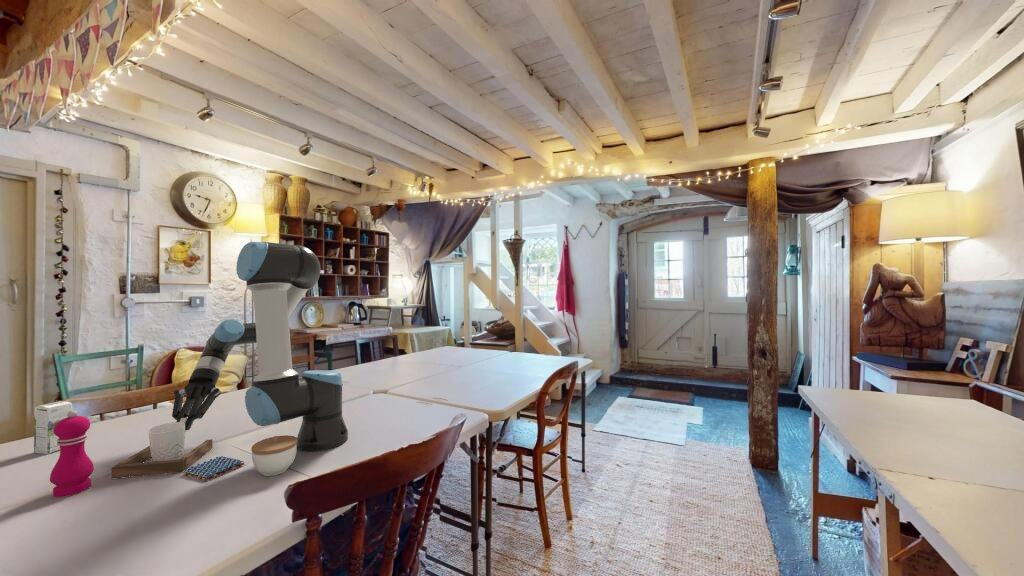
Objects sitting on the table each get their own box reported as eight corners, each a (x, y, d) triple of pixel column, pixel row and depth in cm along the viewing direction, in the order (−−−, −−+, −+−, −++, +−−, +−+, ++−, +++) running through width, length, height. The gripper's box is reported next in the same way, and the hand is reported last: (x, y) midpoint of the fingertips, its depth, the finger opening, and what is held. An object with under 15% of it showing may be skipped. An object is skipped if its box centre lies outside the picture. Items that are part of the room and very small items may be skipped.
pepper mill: (53, 501, 90) (52, 417, 90) (46, 493, 94) (46, 412, 94) (97, 488, 96) (97, 408, 96) (90, 480, 100) (89, 404, 100)
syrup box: (58, 445, 122) (58, 400, 122) (72, 447, 121) (72, 401, 121) (33, 453, 117) (33, 406, 117) (47, 454, 116) (47, 407, 116)
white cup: (161, 470, 106) (160, 434, 105) (142, 465, 108) (141, 430, 108) (192, 457, 113) (191, 424, 113) (174, 452, 116) (173, 420, 115)
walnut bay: (151, 454, 116) (151, 444, 116) (212, 448, 119) (212, 439, 119) (111, 479, 101) (111, 467, 101) (182, 471, 104) (182, 461, 104)
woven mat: (206, 484, 99) (206, 476, 99) (180, 477, 102) (180, 469, 102) (247, 466, 108) (247, 459, 108) (222, 461, 112) (222, 454, 112)
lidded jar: (242, 476, 102) (242, 441, 102) (279, 459, 112) (279, 427, 112) (269, 483, 98) (269, 447, 98) (306, 465, 108) (306, 432, 108)
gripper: (232, 377, 135) (206, 443, 119) (189, 379, 132) (156, 447, 116) (224, 365, 130) (196, 432, 114) (179, 367, 127) (144, 436, 111)
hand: (176, 440), depth 115 cm, fingers closed
